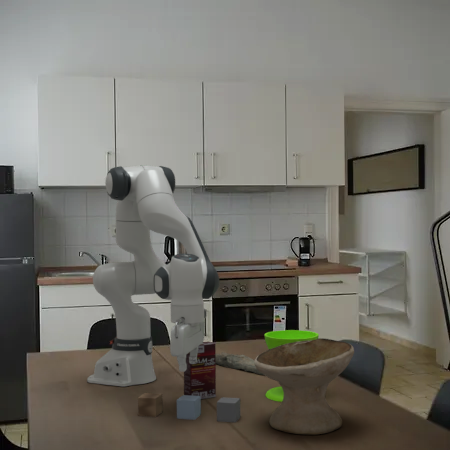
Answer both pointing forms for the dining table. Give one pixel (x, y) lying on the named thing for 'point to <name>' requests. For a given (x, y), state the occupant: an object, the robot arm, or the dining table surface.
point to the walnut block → (150, 405)
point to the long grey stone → (237, 362)
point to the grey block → (228, 409)
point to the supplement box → (201, 372)
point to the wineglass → (281, 338)
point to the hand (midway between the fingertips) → (188, 367)
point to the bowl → (305, 383)
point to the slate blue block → (188, 407)
